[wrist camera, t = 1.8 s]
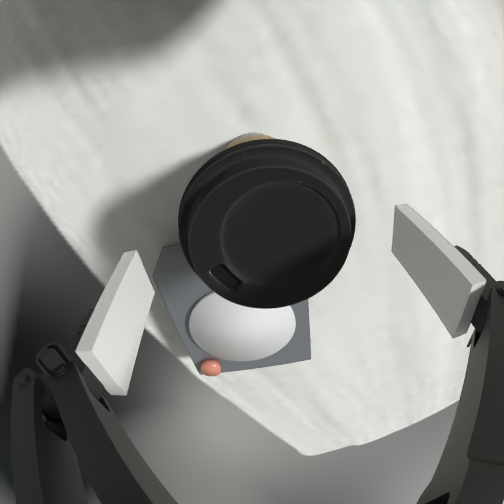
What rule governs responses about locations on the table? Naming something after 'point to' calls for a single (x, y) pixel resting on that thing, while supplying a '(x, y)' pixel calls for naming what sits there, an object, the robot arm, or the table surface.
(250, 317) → the grey dome button box
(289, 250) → the coffee cup
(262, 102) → the table surface
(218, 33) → the table surface
